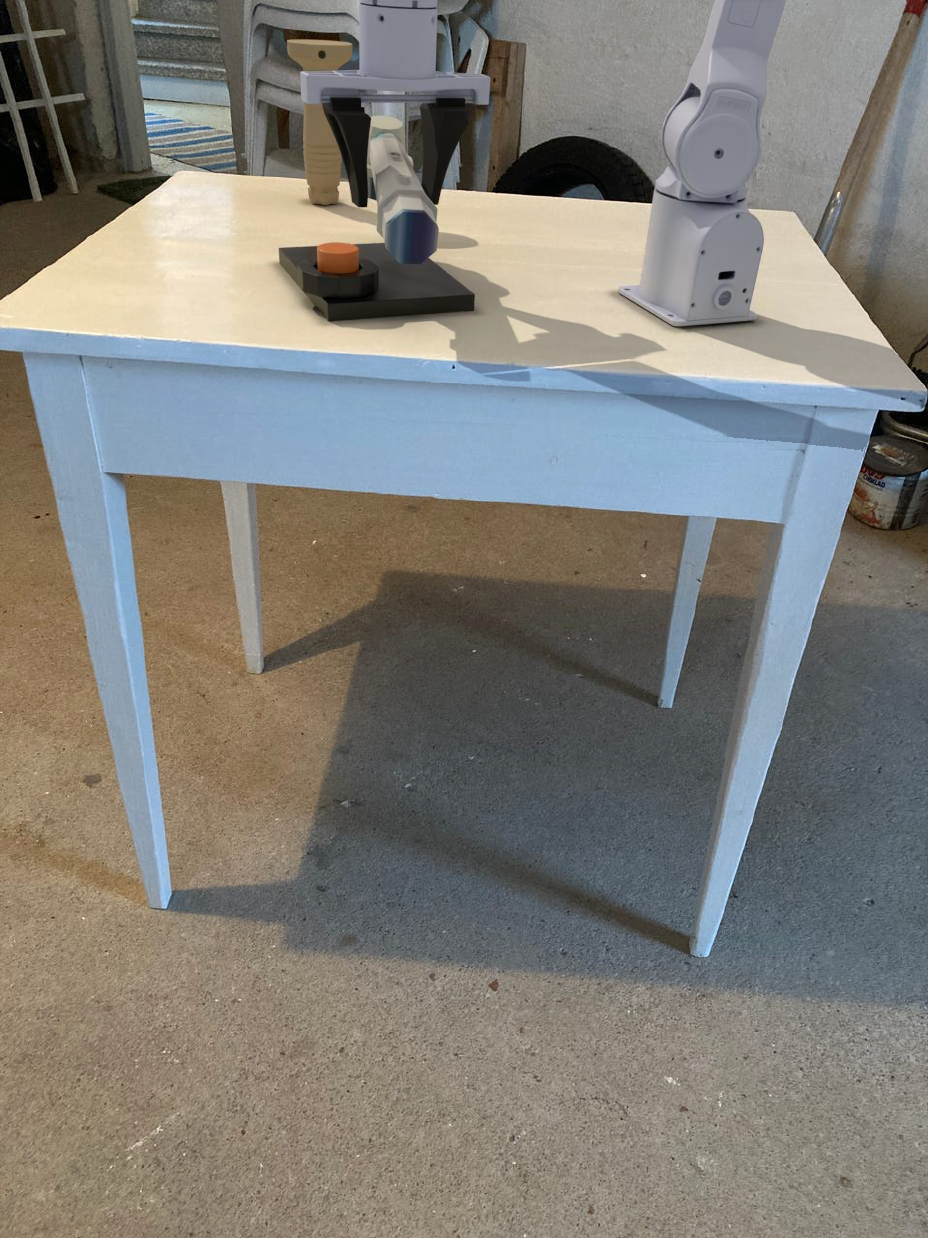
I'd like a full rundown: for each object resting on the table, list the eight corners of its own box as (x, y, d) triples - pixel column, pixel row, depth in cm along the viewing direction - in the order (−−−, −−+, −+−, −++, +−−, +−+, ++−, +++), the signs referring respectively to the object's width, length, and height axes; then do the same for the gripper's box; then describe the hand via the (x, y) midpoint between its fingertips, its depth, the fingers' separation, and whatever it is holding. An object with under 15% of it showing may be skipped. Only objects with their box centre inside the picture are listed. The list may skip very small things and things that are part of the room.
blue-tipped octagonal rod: (376, 205, 68) (352, 95, 86) (372, 297, 72) (349, 175, 90) (451, 209, 69) (411, 100, 87) (442, 300, 73) (406, 178, 91)
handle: (292, 196, 108) (285, 38, 99) (351, 197, 109) (349, 40, 100) (295, 207, 104) (288, 43, 95) (356, 207, 105) (354, 46, 97)
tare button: (364, 275, 76) (364, 251, 75) (323, 277, 75) (323, 254, 74) (352, 263, 79) (352, 241, 78) (313, 265, 78) (312, 242, 77)
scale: (474, 311, 79) (476, 273, 77) (314, 323, 74) (313, 283, 73) (408, 257, 91) (408, 222, 89) (267, 264, 86) (265, 228, 85)
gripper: (469, 4, 77) (460, 189, 85) (287, -3, 72) (295, 194, 80) (506, 12, 72) (493, 208, 80) (311, 5, 67) (318, 215, 75)
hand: (395, 203), depth 80 cm, fingers closed on blue-tipped octagonal rod, 5 cm apart
